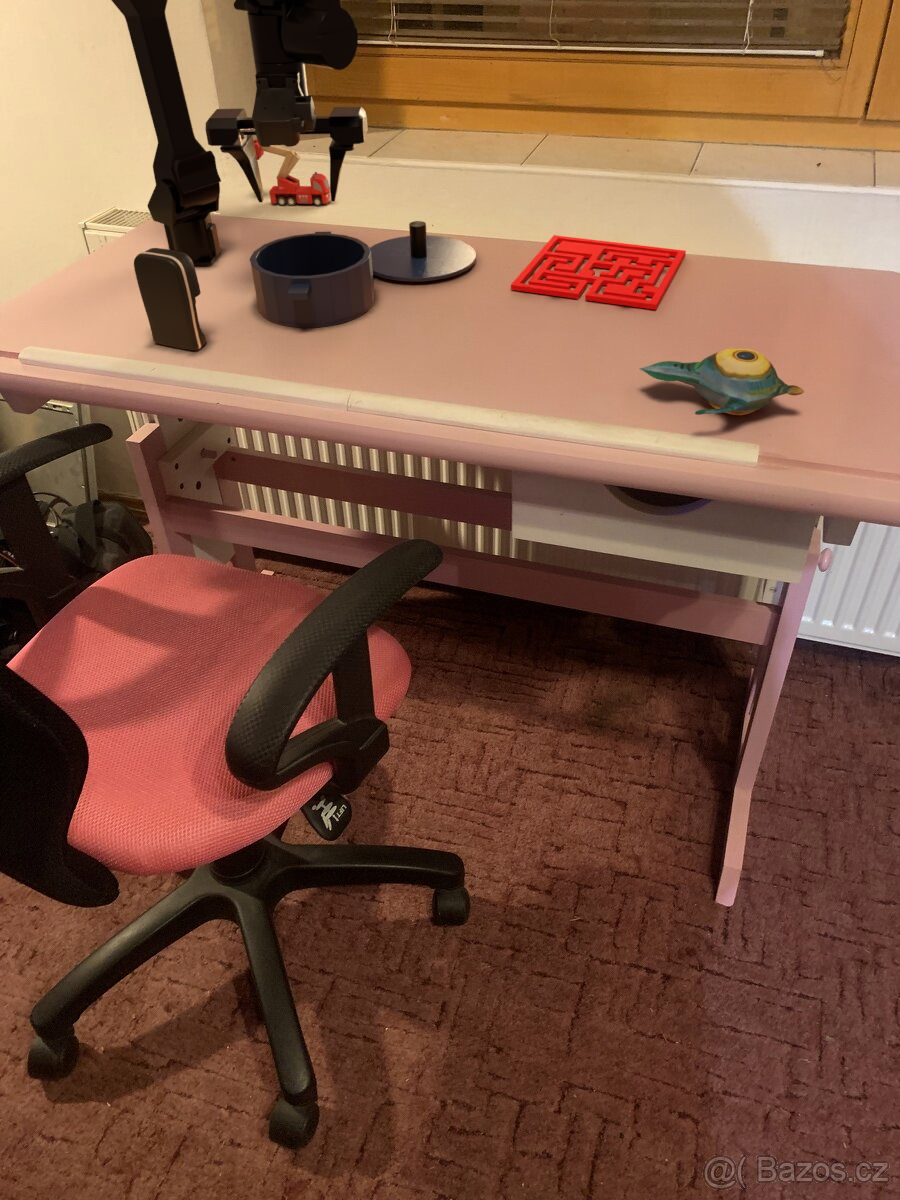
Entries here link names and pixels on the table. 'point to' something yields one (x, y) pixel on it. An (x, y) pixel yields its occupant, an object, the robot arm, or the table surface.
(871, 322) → the table surface
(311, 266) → the pan
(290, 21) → the robot arm
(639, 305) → the maze puzzle
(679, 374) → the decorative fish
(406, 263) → the lid
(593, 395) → the table surface
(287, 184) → the toy fire truck
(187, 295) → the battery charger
